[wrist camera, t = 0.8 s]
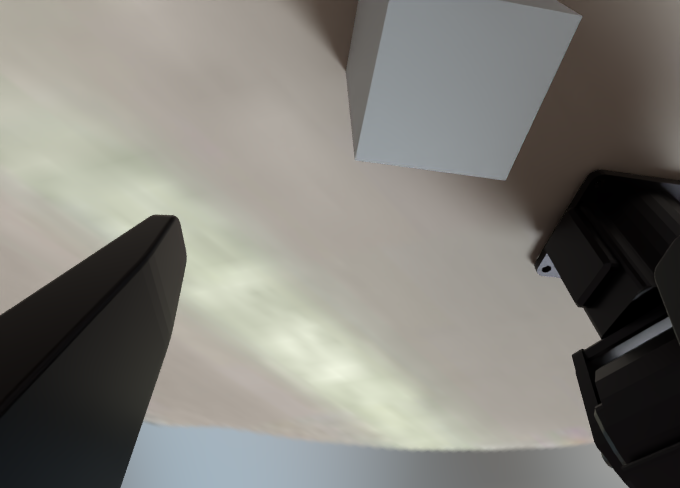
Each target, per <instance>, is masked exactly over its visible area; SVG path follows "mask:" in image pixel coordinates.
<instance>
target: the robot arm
mask: <svg viewBox="0 0 680 488" xmlns="http://www.w3.org/2000/svg"><path fill="white" fill-rule="evenodd" d="M600 179H601V181H600V182H598V183H596V181H598V180H600ZM186 259H187V256H186V248H185V244H184V239H183V234H182V229H181V225H180V221H179V219H178V218H177V217H176V216H174V215H152V216H150V217H148V218H147V219H145V220H144V221H142V222H141V223H139V224H138V225H136V226H135V227H133V228H132V229H130V230H129V231H127V232H126V233H124V234H123V235H121V236H120V237H118V238H117V239H115V240H114V241H112V242H110V243H109V244H107V245H106V246H104V247H103V248H101V249H100V250H98V251H97V252H95V253H94V254H92V255H91V256H89V257H88V258H86V259H85V260H83V261H82V262H80V263H79V264H77V265H76V266H74V267H73V268H71V269H70V270H68V271H67V272H65V273H64V274H62V275H61V276H59V277H58V278H56V279H54V280H53V281H51V282H50V283H48V284H47V285H45V286H44V287H42V288H41V289H39V290H38V291H36V292H35V293H33V294H32V295H30V296H29V297H27V298H26V299H24V300H23V301H21V302H20V303H18V304H17V305H15V306H14V307H12V308H11V309H9V310H8V311H6V312H5V313H3V314H1V315H0V488H120V487H121V484H122V481H123V478H124V476H125V473H126V470H127V466H128V464H129V461H130V458H131V455H132V452H133V449H134V446H135V443H136V440H137V437H138V434H139V431H140V428H141V425H142V422H143V420H144V417H145V414H146V411H147V408H148V405H149V402H150V399H151V396H152V393H153V390H154V387H155V384H156V381H157V378H158V375H159V372H160V369H161V366H162V364H163V361H164V358H165V355H166V352H167V349H168V345H169V342H170V339H171V335H172V330H173V326H174V321H175V316H176V311H177V306H178V301H179V296H180V292H181V287H182V282H183V277H184V272H185V267H186ZM534 266H535V269H536V271H537V273H538V274H539V275H541V276H549V277H558V278H561V279H562V281H563V282H564V284H565V286H566V288H567V290H568V291H569V293H570V295H571V297H572V298H573V300H574V302H575V304H576V305H577V306H578V307H582V308H584V310H585V312H586V313H587V315H588V317H589V319H590V320H591V322H592V324H593V326H594V327H595V329H596V331H597V332H598V334H599V336H600V338H601V339H602V340H600V341H598V342H597V343H595V344H593V345H592V346H590V347H588V348H587V349H585V350H584V349H581V350H579V351H578V352H576V353H574V354H573V355H572V358H573V362H574V366H575V370H576V376H577V380H578V383H579V387H580V391H581V394H582V398H583V402H584V405H585V409H586V413H587V416H588V420H589V424H590V427H591V431H592V435H593V438H594V442H595V444H596V446H597V448H598V449H599V450H600V451H601V454H602V457H603V459H604V461H605V462H606V463H607V465H608V466H610V467H611V468H613V469H614V470H615V472H616V473H617V474H618V475H619V476H620V477H621V479H622V480H623V481H624V483H625V484H626V485H627V486H628V487H629V488H680V181H676V180H669V179H662V178H655V177H648V176H641V175H634V174H627V173H620V172H613V171H606V170H596V171H594V172H592V173H591V174H589V175H588V177H587V178H586V179H585V181H584V183H583V184H582V186H581V188H580V189H579V191H578V193H577V194H576V196H575V198H574V199H573V201H572V203H571V204H570V206H569V208H568V209H567V211H566V212H565V214H564V216H563V217H562V219H561V221H560V222H559V224H558V226H557V227H556V229H555V231H554V232H553V234H552V236H551V237H550V239H549V241H548V242H547V244H546V246H545V248H544V249H543V251H542V253H541V254H540V256H539V258H538V259H537V261H536V263H535V265H534ZM545 266H546V267H545Z"/></svg>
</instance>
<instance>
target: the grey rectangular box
mask: <svg viewBox="0 0 680 488" xmlns="http://www.w3.org/2000/svg"><path fill="white" fill-rule="evenodd" d="M581 18H582V15H580V14H578V13H577V12H575V11H573V10H572V9H570V8H568V7H567V6H565V5H563V4H562V3H560V2H559V1H557V0H358V5H357V11H356V16H355V22H354V28H353V34H352V39H351V45H350V51H349V56H348V62H347V68H346V78H347V88H348V98H349V108H350V117H351V127H352V137H353V146H354V156H355V160H358V161H365V162H372V163H380V164H387V165H394V166H402V167H409V168H416V169H424V170H431V171H438V172H446V173H453V174H460V175H468V176H475V177H483V178H490V179H497V180H505V181H506V178H507V176H508V174H509V172H510V170H511V168H512V166H513V163H514V161H515V159H516V157H517V155H518V153H519V151H520V148H521V146H522V144H523V142H524V140H525V138H526V136H527V134H528V131H529V129H530V127H531V125H532V123H533V121H534V119H535V116H536V114H537V112H538V110H539V108H540V106H541V104H542V102H543V99H544V97H545V95H546V93H547V91H548V89H549V87H550V84H551V82H552V80H553V78H554V76H555V74H556V72H557V70H558V67H559V65H560V63H561V61H562V59H563V57H564V55H565V52H566V50H567V48H568V46H569V44H570V42H571V40H572V38H573V35H574V33H575V31H576V29H577V27H578V25H579V23H580V20H581Z"/></svg>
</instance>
